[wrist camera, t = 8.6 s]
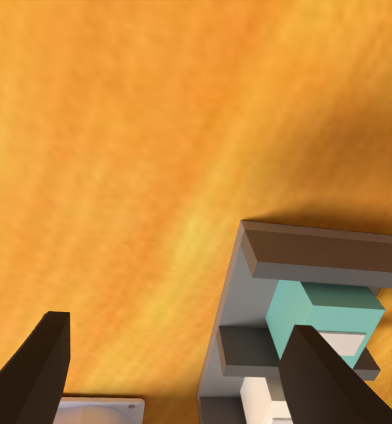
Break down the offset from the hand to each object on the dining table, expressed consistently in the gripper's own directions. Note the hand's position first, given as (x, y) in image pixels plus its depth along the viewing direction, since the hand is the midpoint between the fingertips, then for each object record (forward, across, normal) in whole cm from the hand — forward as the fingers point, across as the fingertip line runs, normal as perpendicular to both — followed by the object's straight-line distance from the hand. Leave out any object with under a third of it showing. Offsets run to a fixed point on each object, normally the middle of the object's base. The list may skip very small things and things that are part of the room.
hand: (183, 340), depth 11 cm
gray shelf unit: (+9, -9, +8) cm, 16 cm away
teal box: (+8, -9, +5) cm, 13 cm away
